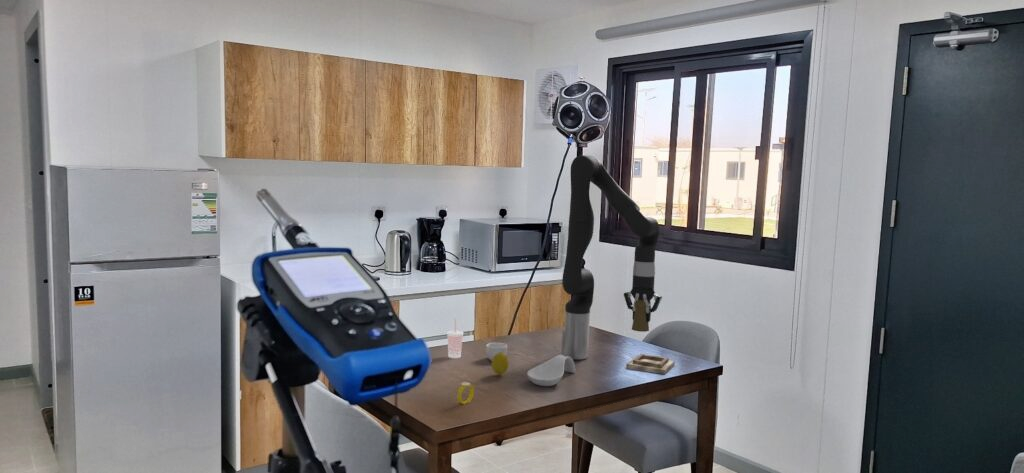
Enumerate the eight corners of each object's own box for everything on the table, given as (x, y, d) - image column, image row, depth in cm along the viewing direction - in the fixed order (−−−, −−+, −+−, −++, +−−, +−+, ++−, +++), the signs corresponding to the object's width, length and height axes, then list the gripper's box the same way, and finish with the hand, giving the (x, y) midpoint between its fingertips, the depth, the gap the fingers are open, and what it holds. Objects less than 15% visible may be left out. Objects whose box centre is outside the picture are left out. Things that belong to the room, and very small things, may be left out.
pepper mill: (648, 332, 244) (650, 301, 243) (631, 330, 245) (632, 299, 244) (649, 328, 250) (650, 298, 249) (632, 327, 251) (633, 296, 250)
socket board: (626, 367, 250) (626, 360, 250) (637, 359, 263) (637, 352, 263) (664, 374, 244) (665, 366, 244) (674, 364, 257) (674, 357, 257)
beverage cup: (464, 358, 256) (466, 320, 255) (448, 359, 254) (449, 321, 252) (459, 353, 262) (461, 317, 260) (444, 354, 259) (445, 317, 258)
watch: (462, 407, 204) (462, 387, 203) (455, 405, 206) (455, 385, 205) (475, 400, 209) (475, 381, 208) (468, 398, 211) (468, 379, 210)
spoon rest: (551, 392, 221) (552, 370, 220) (519, 385, 227) (520, 363, 226) (584, 375, 241) (585, 354, 240) (554, 369, 247) (555, 349, 246)
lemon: (496, 378, 232) (496, 355, 231) (488, 374, 237) (489, 351, 236) (510, 376, 235) (511, 353, 234) (503, 372, 240) (504, 349, 239)
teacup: (498, 363, 250) (498, 349, 250) (481, 359, 255) (481, 345, 254) (514, 358, 258) (515, 343, 258) (497, 354, 263) (498, 340, 262)
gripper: (621, 273, 245) (618, 321, 247) (660, 277, 239) (657, 326, 240) (627, 271, 252) (625, 318, 254) (666, 274, 245) (663, 323, 247)
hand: (641, 322), depth 247 cm, fingers closed on pepper mill, 3 cm apart
